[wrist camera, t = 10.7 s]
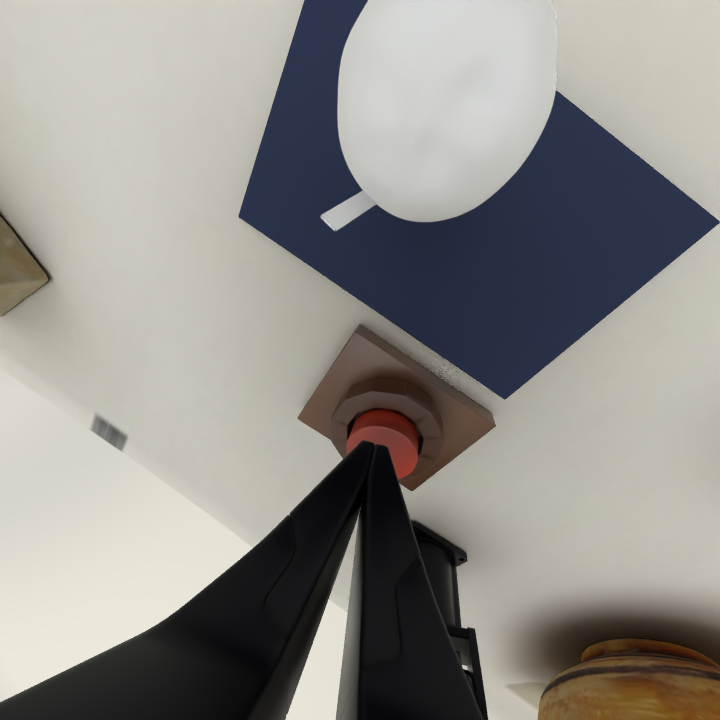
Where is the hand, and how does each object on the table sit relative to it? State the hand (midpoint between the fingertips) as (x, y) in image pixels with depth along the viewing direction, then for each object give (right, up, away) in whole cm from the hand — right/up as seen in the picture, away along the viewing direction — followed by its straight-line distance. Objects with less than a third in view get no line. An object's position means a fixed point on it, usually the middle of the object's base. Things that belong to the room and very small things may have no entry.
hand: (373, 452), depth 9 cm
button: (+1, -2, +9) cm, 10 cm away
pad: (+4, +10, +6) cm, 12 cm away
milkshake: (+3, +12, +5) cm, 13 cm away
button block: (+2, -1, +12) cm, 12 cm away
